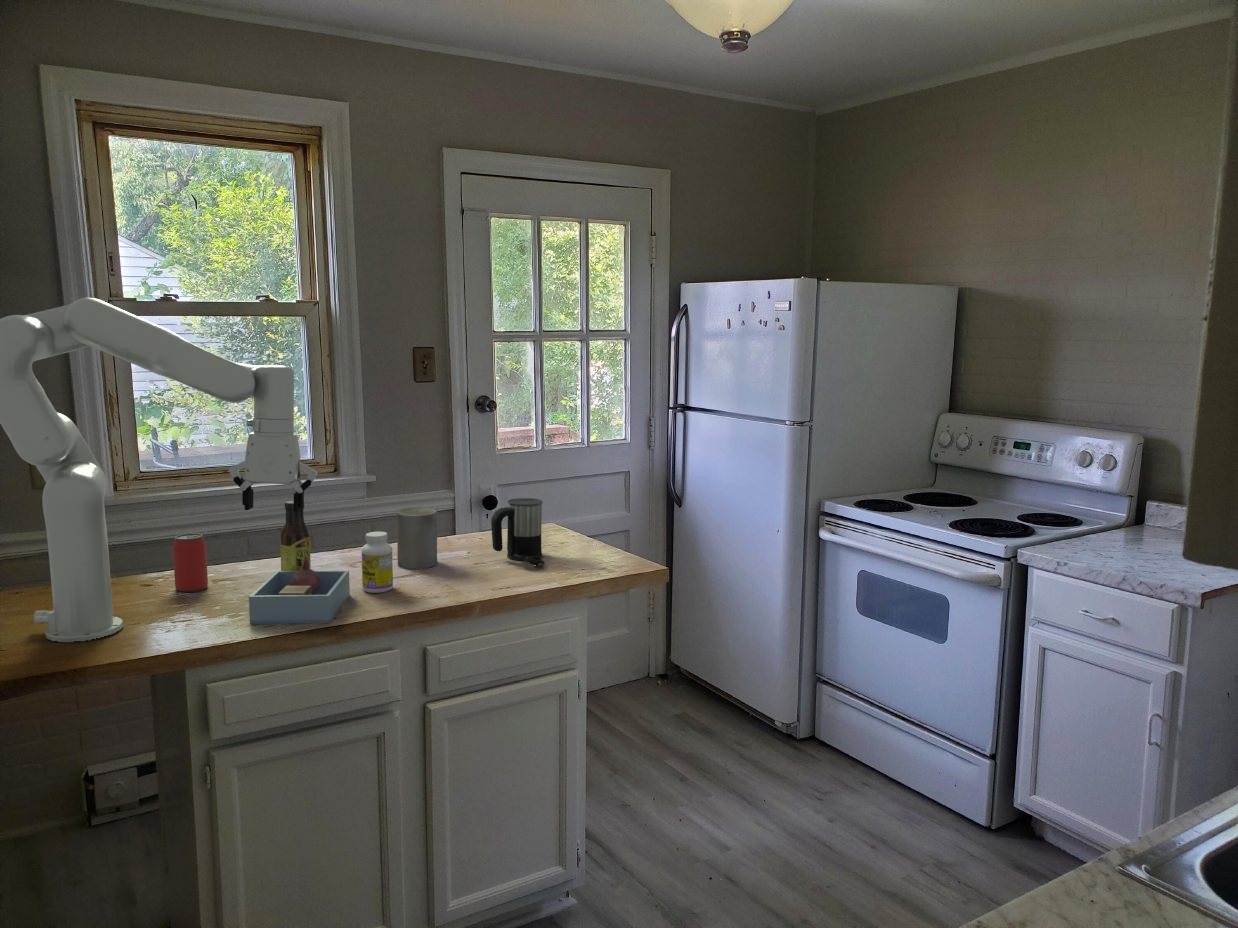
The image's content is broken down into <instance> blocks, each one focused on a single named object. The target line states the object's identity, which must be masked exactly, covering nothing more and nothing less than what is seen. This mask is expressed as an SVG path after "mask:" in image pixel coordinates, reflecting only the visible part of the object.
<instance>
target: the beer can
mask: <svg viewBox="0 0 1238 928" xmlns="http://www.w3.org/2000/svg"><path fill="white" fill-rule="evenodd" d="M172 545H173V546H172V557H173V558H172V559H173V572H174V573H173V574H174V575H173V577H174V587H175V589H176V590H177V591H178V592H182V593H193V592H198V591H199V592H200V591H202V590H204V589H206V588H208V585H209V579H208V578H209V577H208V560H207V559H208V558H207V544H206V541H205V539H204V537H203V534H202V533H196V532H195V533H183V534H179V535H175V537H174V542H173V544H172Z"/></svg>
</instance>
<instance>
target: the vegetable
mask: <svg viewBox="0 0 1238 928" xmlns="http://www.w3.org/2000/svg"><path fill="white" fill-rule="evenodd" d="M305 555H306V556H305V558H304V564H303V567H302V569H301V570H299V571H298V572H296V573H295V574H294V575H293V576H292V578H291V580H290V586H311V593H312V595H313V594H314V593H315V592H316V591H317V590H318V589H319V587H320V584H321V579H320V576H319V575H318V574H317V573H316V572H315V571H316V570H313V569H312V568H311V569H309V563H308V560H309V559H308V554H305Z"/></svg>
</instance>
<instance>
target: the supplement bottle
mask: <svg viewBox="0 0 1238 928" xmlns="http://www.w3.org/2000/svg"><path fill="white" fill-rule="evenodd" d="M388 539H389V538H388V533H387V532H385V531H371V532H367V533H365V540H366V544H364V545H363V546H362V548H361V578H362V579H361V581H362V585H361V586H362V590H363V591H364V592H366V593H371V594H380V593H386V592H389V591H391V590H392V589H393V588H394V578H393V575H394V574H393V573H394V572H393V571H394V568H393V566H394V565H393V547H392V546H391V544H390V543H388Z"/></svg>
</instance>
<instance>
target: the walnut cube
mask: <svg viewBox="0 0 1238 928" xmlns="http://www.w3.org/2000/svg"><path fill="white" fill-rule="evenodd" d="M278 595H312V593H311V586H286V587H284V588H283V589H282V590H281V591H280V592H279V593H278Z"/></svg>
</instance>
